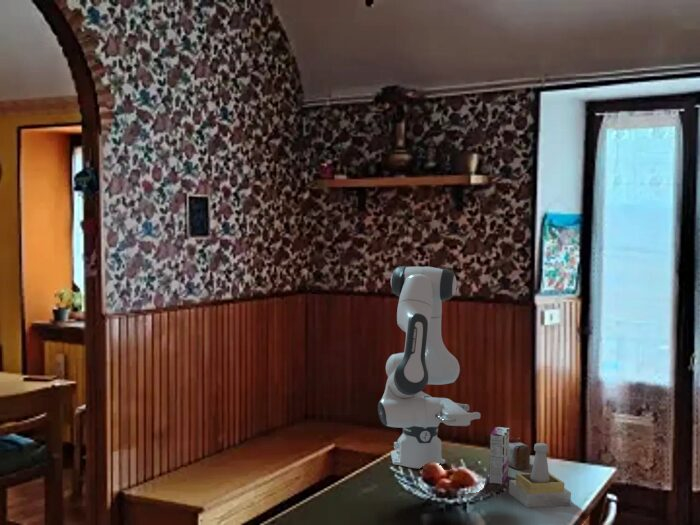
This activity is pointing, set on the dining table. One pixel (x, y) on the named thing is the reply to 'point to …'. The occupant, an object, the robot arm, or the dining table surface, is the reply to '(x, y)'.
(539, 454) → the salt shaker
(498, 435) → the candy bar box
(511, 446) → the food item
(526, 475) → the yellow and grey tray
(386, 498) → the dining table surface
